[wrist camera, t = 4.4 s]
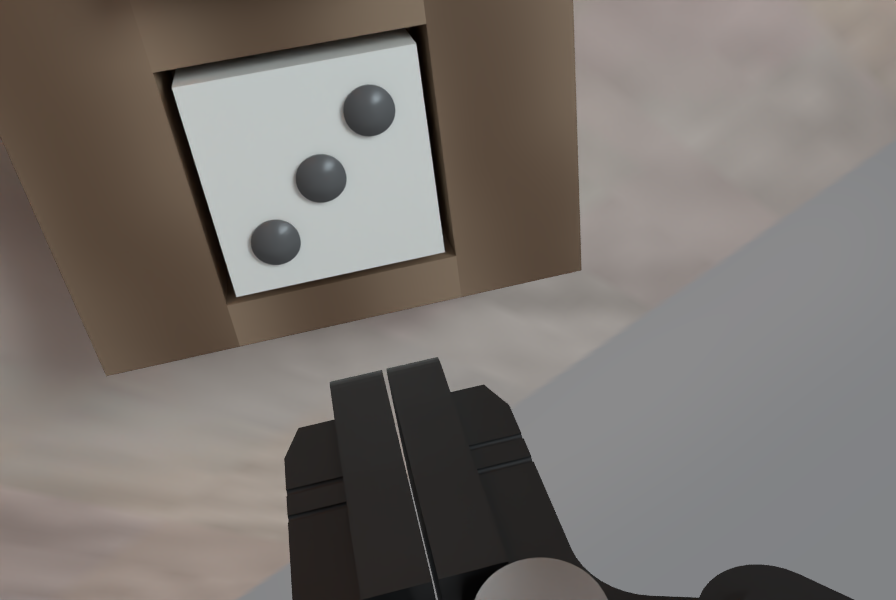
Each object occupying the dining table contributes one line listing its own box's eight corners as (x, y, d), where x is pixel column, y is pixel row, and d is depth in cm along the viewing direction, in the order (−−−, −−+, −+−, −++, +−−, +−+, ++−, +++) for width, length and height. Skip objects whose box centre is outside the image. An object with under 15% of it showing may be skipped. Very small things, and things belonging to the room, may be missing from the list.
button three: (394, 15, 19) (417, 44, 17) (423, 207, 22) (445, 254, 19) (178, 53, 18) (171, 89, 16) (235, 245, 21) (236, 299, 19)
